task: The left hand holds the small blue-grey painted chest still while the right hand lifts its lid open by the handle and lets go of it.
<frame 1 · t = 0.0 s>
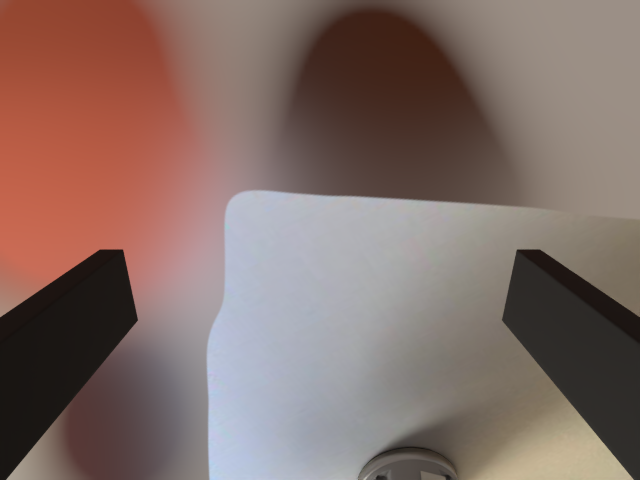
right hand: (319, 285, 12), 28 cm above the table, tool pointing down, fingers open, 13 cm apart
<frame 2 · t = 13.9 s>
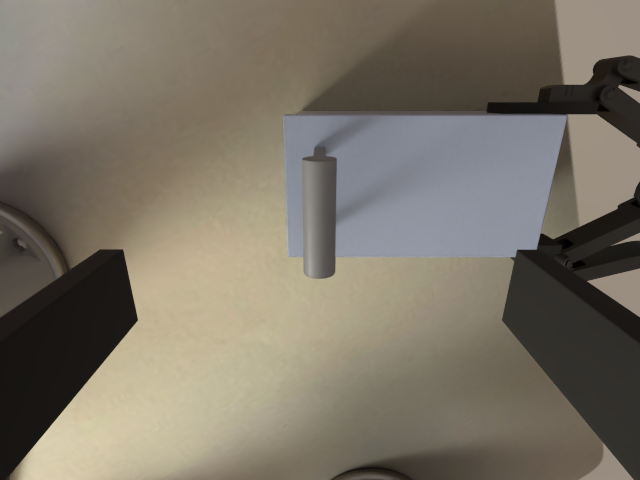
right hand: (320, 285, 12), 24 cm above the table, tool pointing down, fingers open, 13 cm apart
lid: (429, 202, 22), point 13 cm above the table, hinge at 0.0°
chest: (394, 165, 35), on the table, touching left hand
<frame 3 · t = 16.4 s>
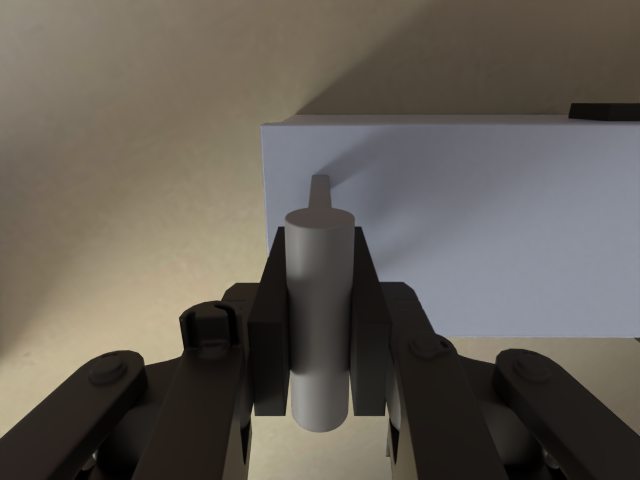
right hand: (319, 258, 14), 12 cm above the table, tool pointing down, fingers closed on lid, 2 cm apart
lid: (505, 272, 13), point 13 cm above the table, hinge at -0.1°, touching right hand
chest: (421, 189, 26), on the table, touching left hand
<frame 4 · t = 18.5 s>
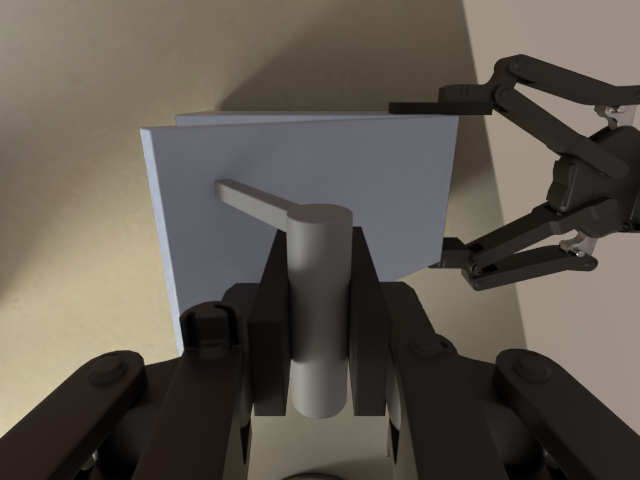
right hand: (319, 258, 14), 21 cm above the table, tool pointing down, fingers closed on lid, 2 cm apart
left hand: (386, 182, 28), fingers closed on chest, 10 cm apart
lid: (390, 234, 17), point 18 cm above the table, hinge at 37.0°, touching right hand
chest: (312, 167, 34), on the table, touching left hand
when the left hand's fingers open (7 cm above the table, at t = 25.2 s): chest stays where it is, on the table.
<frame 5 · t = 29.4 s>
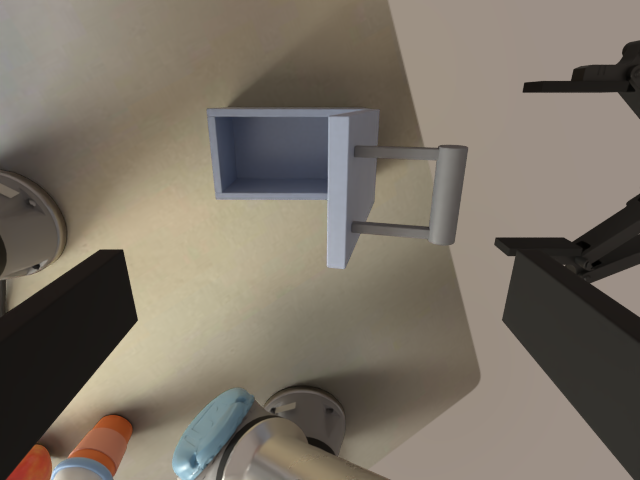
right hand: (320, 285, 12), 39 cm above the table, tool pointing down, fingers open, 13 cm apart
left hand: (515, 173, 31), fingers open, 13 cm apart
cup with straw: (116, 426, 67), on the table
lid: (400, 174, 31), point 19 cm above the table, hinge at 75.9°
chest: (295, 146, 49), on the table
apple: (39, 449, 69), on the table
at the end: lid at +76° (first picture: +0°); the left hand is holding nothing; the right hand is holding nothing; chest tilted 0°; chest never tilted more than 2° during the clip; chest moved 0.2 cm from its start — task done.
